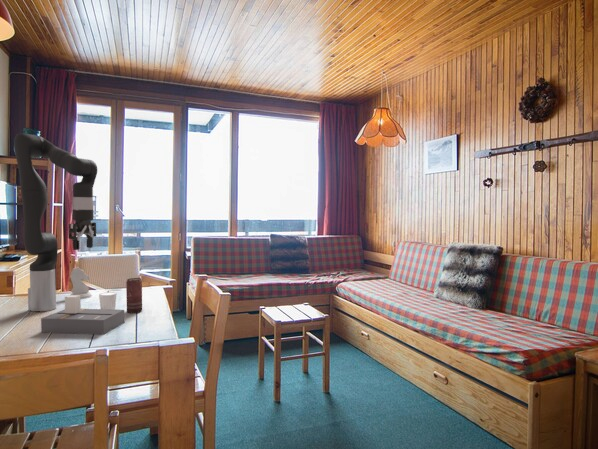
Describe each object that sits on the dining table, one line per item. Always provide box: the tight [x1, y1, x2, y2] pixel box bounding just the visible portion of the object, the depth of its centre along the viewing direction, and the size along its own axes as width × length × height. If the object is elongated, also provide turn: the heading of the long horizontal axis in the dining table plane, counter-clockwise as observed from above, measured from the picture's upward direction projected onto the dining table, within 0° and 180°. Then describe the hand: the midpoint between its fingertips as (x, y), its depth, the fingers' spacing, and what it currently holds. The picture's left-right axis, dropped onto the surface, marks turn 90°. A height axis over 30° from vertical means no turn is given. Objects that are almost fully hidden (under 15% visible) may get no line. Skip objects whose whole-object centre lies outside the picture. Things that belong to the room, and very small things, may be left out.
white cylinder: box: [98, 291, 117, 310], centre depth 170 cm, size 7×7×7 cm
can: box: [125, 277, 143, 314], centre depth 167 cm, size 6×6×14 cm
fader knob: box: [64, 294, 82, 314], centre depth 145 cm, size 4×3×8 cm
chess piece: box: [70, 266, 93, 300], centre depth 194 cm, size 10×10×15 cm
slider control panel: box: [40, 308, 125, 335], centre depth 145 cm, size 23×14×5 cm, turn 86°
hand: (83, 248), depth 159 cm, fingers open, 8 cm apart
